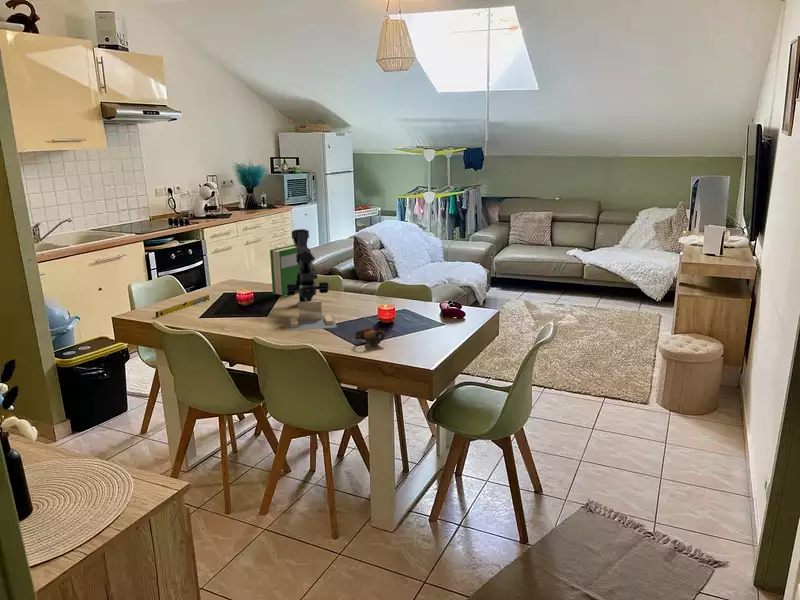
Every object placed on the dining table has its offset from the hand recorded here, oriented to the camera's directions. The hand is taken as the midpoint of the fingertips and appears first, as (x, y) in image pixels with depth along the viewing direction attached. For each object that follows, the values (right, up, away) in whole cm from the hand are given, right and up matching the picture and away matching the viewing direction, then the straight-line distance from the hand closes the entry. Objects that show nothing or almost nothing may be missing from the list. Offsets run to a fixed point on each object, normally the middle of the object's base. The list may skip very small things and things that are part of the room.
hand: (309, 304), depth 272 cm
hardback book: (-18, +6, +50) cm, 54 cm away
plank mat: (+2, -9, -7) cm, 11 cm away
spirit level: (-64, -2, +22) cm, 68 cm away
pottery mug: (+29, -16, -33) cm, 47 cm away
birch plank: (+1, -6, -2) cm, 7 cm away
